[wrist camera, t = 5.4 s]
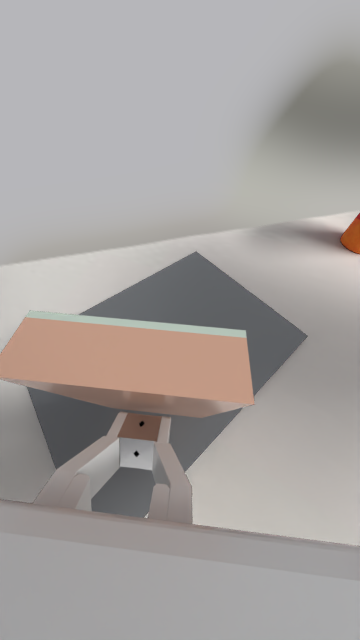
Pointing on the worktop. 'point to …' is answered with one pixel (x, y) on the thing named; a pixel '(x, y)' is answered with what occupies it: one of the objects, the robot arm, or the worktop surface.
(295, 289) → the worktop surface
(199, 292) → the mat
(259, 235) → the worktop surface
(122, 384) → the tile
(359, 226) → the coffee cup
